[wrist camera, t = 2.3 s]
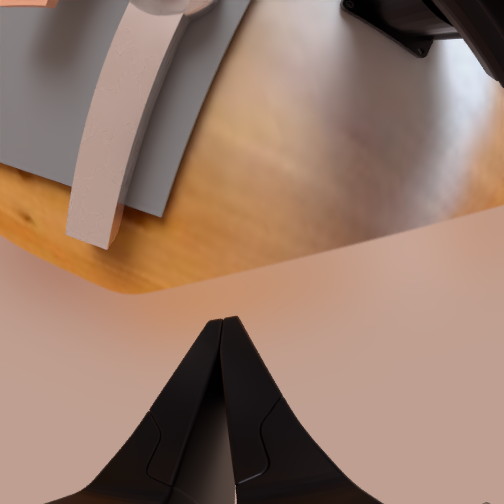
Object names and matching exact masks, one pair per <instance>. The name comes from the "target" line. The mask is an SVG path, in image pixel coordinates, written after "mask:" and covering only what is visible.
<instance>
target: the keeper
mask: <svg viewBox="0 0 504 504" xmlns="http://www.w3.org/2000/svg"><path fill="white" fill-rule="evenodd" d="M57 3H58V0H0V6H1V7H40V8H55V7H56V5H57Z"/></svg>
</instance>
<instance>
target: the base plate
mask: <svg viewBox="0 0 504 504" xmlns="http://www.w3.org/2000/svg"><path fill="white" fill-rule="evenodd" d="M129 2H130V1H129V0H58V3H57V5H56V7H55V8H40V7H1V6H0V163H3V164H6V165H9V166H12V167H15V168H18V169H21V170H24V171H27V172H30V173H33V174H36V175H39V176H42V177H44V178H47V179H50V180H53V181H56V182H59V183H62V184H65V185H68V186H71V187H72V184H73V178H74V173H75V168H76V163H77V158H78V153H79V148H80V144H81V140H82V135H83V131H84V127H85V123H86V120H87V116H88V112H89V109H90V105H91V102H92V98H93V95H94V92H95V88H96V85H97V82H98V79H99V76H100V73H101V70H102V67H103V64H104V62H105V59H106V56H107V53H108V51H109V48H110V46H111V43H112V41H113V38H114V36H115V33H116V31H117V28H118V26H119V24H120V21H121V19H122V17H123V15H124V12H125V10H126V8H127V6H128V4H129ZM250 2H251V0H219V1H218V3H217V4H216V5H215V6H214V7H213V8H212V9H211V10H210V11H209V12H207V13H206V14H204V15H203V16H201V17H199V18H197V19H194V20H191V21H190V22H189V24H188V26H187V28H186V30H185V32H184V35H183V37H182V39H181V41H180V43H179V46H178V48H177V50H176V53H175V55H174V57H173V60H172V62H171V64H170V67H169V69H168V72H167V74H166V77H165V79H164V82H163V84H162V87H161V90H160V92H159V95H158V98H157V100H156V103H155V106H154V109H153V112H152V114H151V117H150V120H149V123H148V126H147V129H146V132H145V135H144V138H143V142H142V145H141V148H140V151H139V154H138V158H137V161H136V165H135V168H134V172H133V175H132V179H131V183H130V186H129V190H128V194H127V198H126V202H125V205H126V206H129V207H132V208H135V209H138V210H141V211H144V212H147V213H150V214H153V215H155V216H158V217H162V215H163V213H164V211H165V207H166V204H167V201H168V198H169V195H170V192H171V189H172V186H173V183H174V180H175V177H176V174H177V171H178V169H179V166H180V163H181V160H182V157H183V155H184V152H185V149H186V146H187V144H188V141H189V138H190V136H191V133H192V131H193V128H194V125H195V123H196V120H197V118H198V115H199V113H200V110H201V108H202V105H203V103H204V100H205V98H206V96H207V93H208V91H209V89H210V86H211V84H212V82H213V79H214V77H215V75H216V72H217V70H218V68H219V66H220V63H221V61H222V59H223V57H224V55H225V53H226V50H227V48H228V46H229V44H230V42H231V40H232V38H233V36H234V34H235V31H236V29H237V27H238V25H239V23H240V21H241V19H242V17H243V15H244V13H245V12H246V10H247V8H248V6H249V4H250Z"/></svg>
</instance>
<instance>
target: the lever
mask: <svg viewBox="0 0 504 504" xmlns="http://www.w3.org/2000/svg"><path fill="white" fill-rule="evenodd" d="M129 1H130V2H129V4H128V6H127V8H126V10H125V12H124V15H123V17H122V19H121V21H120V24H119V26H118V28H117V31H116V33H115V36H114V38H113V41H112V43H111V46H110V48H109V51H108V53H107V56H106V59H105V62H104V64H103V67H102V70H101V73H100V76H99V79H98V82H97V85H96V88H95V92H94V95H93V98H92V102H91V105H90V109H89V112H88V116H87V120H86V123H85V127H84V131H83V135H82V140H81V144H80V148H79V153H78V158H77V163H76V168H75V173H74V178H73V184H72V190H71V196H70V203H69V210H68V218H67V226H66V235H68V236H70V237H73V238H76V239H78V240H81V241H84V242H87V243H89V244H92V245H95V246H98V247H100V248H103V249H106V250H108V248H109V246H110V245H111V243H112V242H113V240H114V239H115V237H116V236H117V234H118V232H119V227H120V223H121V218H122V214H123V210H124V206H125V202H126V198H127V194H128V190H129V186H130V183H131V179H132V175H133V172H134V168H135V165H136V161H137V158H138V154H139V151H140V148H141V145H142V142H143V138H144V135H145V132H146V129H147V126H148V123H149V120H150V117H151V114H152V112H153V109H154V106H155V103H156V100H157V98H158V95H159V92H160V90H161V87H162V84H163V82H164V79H165V77H166V74H167V72H168V69H169V67H170V64H171V62H172V60H173V57H174V55H175V53H176V50H177V48H178V46H179V43H180V41H181V39H182V37H183V35H184V32H185V30H186V28H187V26H188V24H189V22H190V21H191V20H194V19H197V18H199V17H201V16H203V15H204V14H206V13H207V12H209V11H210V10H211V9H212V8H213V7H214V6H215V5H216V4H217V3H218V1H219V0H129Z"/></svg>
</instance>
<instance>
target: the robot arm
mask: <svg viewBox="0 0 504 504" xmlns="http://www.w3.org/2000/svg"><path fill="white" fill-rule="evenodd" d="M346 2H349V3H351V5H352V8H350V7H348V6H347V5H346ZM340 5H341V8H342V9H343V10H344V11H345V12H347V13H349V14H351V15H353V16H354V17H356V18H358V19H360V20H361V21H363V22H365V23H366V24H368V25H370V26H371V27H373V28H375V29H376V30H378V31H379V32H381V33H383V34H384V35H386V36H387V37H389V38H390V39H392V40H393V41H395V42H396V43H398V44H399V45H400V46H402V47H403V48H405V49H406V50H408V51H409V52H410V53H412V54H413V55H414V56H416V57H418V58H424V57H426V56H427V54H428V52H429V49H430V47H431V45H432V43H433V40H445V39H462V38H463V40H464V41H465V42H466V44H467V45H468V46H469V48H470V49H471V51H472V52H473V54H474V55H475V57H476V58H477V60H478V61H479V63H480V64H481V66H482V67H483V69H484V70H485V72H486V73H487V74H488V75H489V76H491V77H492V78H493V79H495V80H496V81H499V83H500V85H501V86H502V87H503V88H504V0H341V3H340ZM419 48H420V49H421V51H422V52H421V54H420V53H419V51H418V49H419ZM149 410H150V411H148V412H147V413H146V415H145V417H144V418H143V420H142V421H141V422H140V424H139V425H138V426H137V428H136V429H135V431H134V432H133V434H132V435H131V437H129V439H128V440H127V441H126V443H125V444H124V445H123V446H122V447H121V449H120V450H119V451H118V452H117V453H116V455H115V456H114V457H113V458H112V459H111V460H110V461H109V463H108V464H107V465H106V466H105V467H104V468H103V470H102V471H101V472H100V473H99V474H98V475H97V476H96V478H95V479H94V480H93V481H92V482H91V483H90V484H89V485H87V486H86V487H85V488H84V489H82V490H81V491H79V492H77V493H75V494H72V495H69V496H66V497H63V498H61V499H57V500H54V501H51V502H48V503H45V504H234V503H235V501H234V500H235V485H236V494H237V495H236V496H237V504H383V503H382V502H380V501H378V500H377V499H376V498H374V497H372V496H371V495H369V494H368V493H367V492H365V491H364V490H362V489H361V488H359V487H358V486H357V485H356V484H355V483H353V482H352V481H351V480H350V479H349V478H348V477H347V476H346V475H345V474H344V473H343V472H342V471H341V470H340V469H339V468H338V467H337V465H336V464H335V463H334V462H333V461H332V460H331V459H330V458H329V457H328V455H327V454H326V453H325V452H324V451H323V450H322V449H321V448H320V447H319V445H318V444H317V443H316V442H315V441H314V440H313V439H312V437H311V436H310V435H309V434H308V432H307V431H306V430H305V429H304V427H303V426H302V425H301V423H300V422H299V421H298V419H297V418H296V416H295V415H294V413H293V411H292V410H291V408H290V407H289V405H288V403H287V402H286V400H285V398H284V397H283V395H282V393H281V392H280V390H279V388H278V386H277V385H276V383H275V381H274V379H273V378H272V376H271V374H270V373H269V371H268V369H267V367H266V366H265V364H264V362H263V360H262V358H261V357H260V355H259V353H258V351H257V349H256V348H255V346H254V344H253V342H252V340H251V339H250V337H249V335H248V333H247V331H246V330H245V328H244V326H243V324H242V322H241V320H240V319H239V317H238V316H232V317H227V318H225V319H224V320H223V319H215V320H210V321H209V322H208V323H207V324H206V326H205V327H204V329H203V330H202V331H201V333H200V335H199V336H198V337H197V339H196V340H195V342H194V343H193V345H192V346H191V348H190V350H189V351H188V352H187V354H186V355H185V357H184V358H183V360H182V361H181V363H180V364H179V366H178V367H177V369H176V370H175V372H174V373H173V375H172V376H171V378H170V379H169V381H168V382H167V384H166V385H165V387H164V388H163V390H162V391H161V393H160V394H159V396H158V397H157V399H156V400H155V402H154V403H153V405H152V406H151V408H150V409H149ZM483 504H490V503H487V502H486V503H483Z"/></svg>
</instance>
